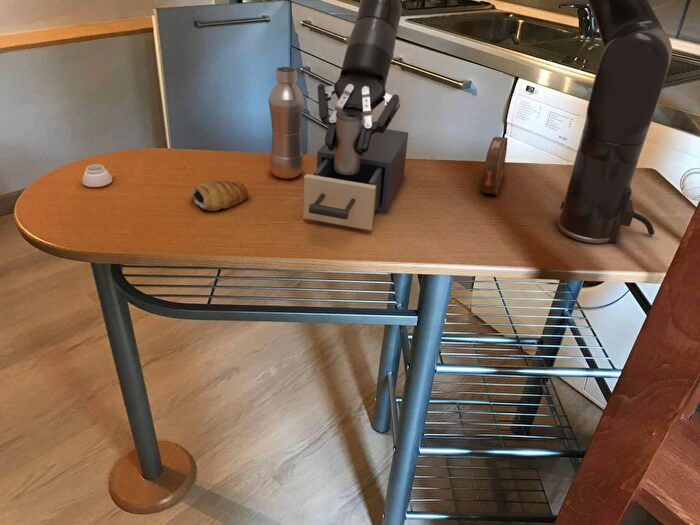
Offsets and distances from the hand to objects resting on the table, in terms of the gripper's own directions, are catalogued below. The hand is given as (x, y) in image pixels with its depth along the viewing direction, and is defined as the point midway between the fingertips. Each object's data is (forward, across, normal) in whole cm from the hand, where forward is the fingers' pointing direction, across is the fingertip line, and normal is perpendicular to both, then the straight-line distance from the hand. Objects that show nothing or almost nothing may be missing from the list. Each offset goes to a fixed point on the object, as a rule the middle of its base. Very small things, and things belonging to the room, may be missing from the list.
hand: (345, 150), depth 97 cm
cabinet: (-1, 0, +18) cm, 19 cm away
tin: (-9, +23, +27) cm, 36 cm away
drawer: (+7, 0, +9) cm, 12 cm away
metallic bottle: (-1, -15, +19) cm, 24 cm away
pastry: (+10, -22, +8) cm, 25 cm away
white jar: (+11, -45, +8) cm, 47 cm away
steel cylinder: (+1, 0, +4) cm, 4 cm away
